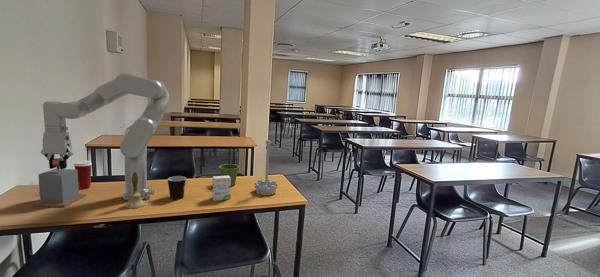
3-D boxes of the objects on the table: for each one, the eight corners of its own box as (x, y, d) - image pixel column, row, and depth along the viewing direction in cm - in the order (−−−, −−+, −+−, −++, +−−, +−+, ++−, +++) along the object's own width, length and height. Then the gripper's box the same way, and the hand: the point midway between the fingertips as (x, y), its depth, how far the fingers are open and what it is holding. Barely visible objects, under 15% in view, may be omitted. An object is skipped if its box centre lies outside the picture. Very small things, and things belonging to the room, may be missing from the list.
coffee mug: (179, 201, 148) (179, 182, 146) (164, 199, 149) (163, 179, 148) (192, 193, 159) (192, 175, 157) (177, 191, 161) (177, 173, 159)
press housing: (85, 196, 147) (84, 168, 144) (64, 207, 133) (62, 177, 131) (56, 194, 146) (54, 167, 144) (32, 205, 132) (29, 175, 130)
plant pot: (233, 180, 186) (233, 163, 184) (242, 185, 177) (243, 167, 175) (215, 183, 178) (215, 165, 176) (223, 189, 169) (224, 170, 168)
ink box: (228, 196, 159) (229, 174, 157) (230, 199, 154) (231, 177, 152) (212, 197, 155) (212, 175, 154) (213, 201, 151) (213, 178, 149)
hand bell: (140, 200, 146) (139, 169, 143) (148, 205, 140) (147, 173, 138) (122, 205, 139) (120, 172, 137) (129, 210, 134) (128, 176, 131)
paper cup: (96, 186, 162) (95, 161, 159) (85, 190, 154) (83, 164, 152) (83, 184, 162) (81, 159, 160) (71, 189, 155) (69, 163, 153)
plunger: (73, 195, 143) (70, 157, 140) (62, 200, 136) (59, 161, 133) (58, 194, 142) (55, 157, 140) (46, 199, 136) (43, 160, 133)
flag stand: (280, 194, 166) (283, 142, 161) (257, 196, 161) (259, 142, 156) (273, 187, 178) (276, 138, 173) (252, 188, 173) (254, 138, 168)
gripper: (80, 129, 138) (82, 167, 141) (43, 126, 138) (46, 165, 140) (68, 131, 131) (70, 171, 134) (29, 129, 130) (32, 169, 133)
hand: (58, 167), depth 137 cm, fingers closed on plunger, 4 cm apart
